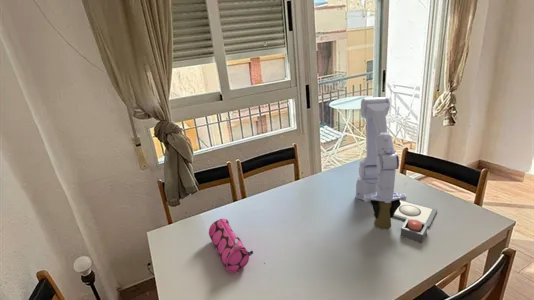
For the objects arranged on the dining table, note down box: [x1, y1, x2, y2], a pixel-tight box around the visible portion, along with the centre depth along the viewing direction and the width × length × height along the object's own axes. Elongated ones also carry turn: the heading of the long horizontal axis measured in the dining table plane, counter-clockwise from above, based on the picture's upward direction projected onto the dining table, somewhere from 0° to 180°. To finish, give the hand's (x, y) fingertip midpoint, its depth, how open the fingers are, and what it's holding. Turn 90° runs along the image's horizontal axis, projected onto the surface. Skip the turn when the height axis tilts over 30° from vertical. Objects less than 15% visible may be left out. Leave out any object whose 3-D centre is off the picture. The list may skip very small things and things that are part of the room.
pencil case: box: [208, 217, 254, 274], centre depth 107 cm, size 21×10×10 cm, turn 28°
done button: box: [408, 220, 422, 232], centre depth 109 cm, size 4×4×2 cm
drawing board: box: [393, 200, 438, 229], centre depth 122 cm, size 17×13×1 cm
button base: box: [399, 218, 429, 244], centre depth 110 cm, size 7×7×4 cm
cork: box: [373, 201, 392, 230], centre depth 115 cm, size 6×6×11 cm
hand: (383, 216), depth 116 cm, fingers closed on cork, 5 cm apart
